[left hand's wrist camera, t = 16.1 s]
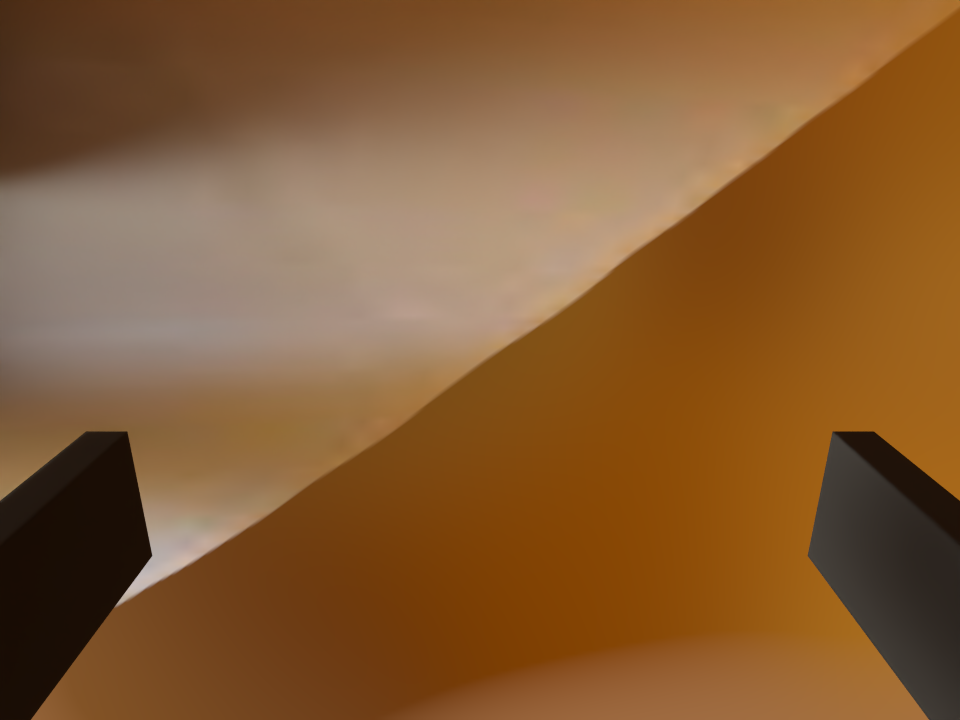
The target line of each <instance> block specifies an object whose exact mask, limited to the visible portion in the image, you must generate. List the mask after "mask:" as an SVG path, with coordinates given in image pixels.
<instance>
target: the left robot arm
mask: <svg viewBox="0 0 960 720" xmlns="http://www.w3.org/2000/svg"><path fill="white" fill-rule="evenodd" d="M151 557H152V552H151V547H150V542H149V537H148V532H147V527H146V522H145V517H144V512H143V507H142V502H141V497H140V492H139V487H138V482H137V477H136V472H135V467H134V462H133V457H132V452H131V448H130V443H129V438H128V433H127V432H85V433H84V434H83V435H81V436H80V437H79V438H78V439H76V440H75V441H74V442H73V443H71V444H70V445H69V446H68V447H66V448H65V449H64V450H63V451H61V452H60V453H59V454H58V455H57V456H55V457H54V458H53V459H52V460H50V461H49V462H48V463H47V464H45V465H44V466H43V467H42V468H40V469H39V470H38V471H37V472H35V473H34V474H33V475H32V476H31V477H29V478H28V479H27V480H26V481H24V482H23V483H22V484H21V485H19V486H18V487H17V488H16V489H14V490H13V491H12V492H11V493H9V494H8V495H7V496H6V497H5V498H3V499H2V500H1V501H0V720H31V719H32V717H33V716H34V715H35V713H36V712H37V711H38V709H39V708H40V706H41V705H42V704H43V702H44V701H45V700H46V698H47V697H48V696H49V694H50V693H51V692H52V690H53V689H54V688H55V686H56V685H57V684H58V682H59V681H60V680H61V678H62V677H63V676H64V674H65V673H66V671H67V670H68V669H69V667H70V666H71V665H72V663H73V662H74V661H75V659H76V658H77V657H78V655H79V654H80V653H81V651H82V650H83V649H84V647H85V646H86V644H87V643H88V642H89V640H90V639H91V638H92V636H93V635H94V634H95V632H96V631H97V630H98V628H99V627H100V626H101V624H102V623H103V622H104V620H105V619H106V617H107V616H108V615H109V613H110V612H111V611H112V609H113V608H114V607H115V605H116V604H117V603H118V601H119V600H120V599H121V597H122V596H123V595H124V593H125V592H126V591H127V589H128V588H129V586H130V585H131V584H132V582H133V581H134V580H135V578H136V577H137V576H138V574H139V573H140V572H141V570H142V569H143V568H144V566H145V565H146V564H147V562H148V561H149V559H150V558H151ZM808 557H809V558H810V559H811V561H812V562H813V563H814V565H815V566H816V568H817V569H818V570H819V572H820V573H821V574H822V576H823V577H824V578H825V580H826V581H827V582H828V584H829V585H830V586H831V588H832V589H833V590H834V592H835V593H836V595H837V596H838V597H839V599H840V600H841V601H842V603H843V604H844V605H845V607H846V608H847V609H848V611H849V612H850V613H851V615H852V616H853V617H854V619H855V620H856V622H857V623H858V624H859V625H860V627H861V628H862V630H863V631H864V632H865V633H866V635H867V636H868V638H869V639H870V640H871V642H872V643H873V644H874V646H875V647H876V648H877V650H878V651H879V653H880V654H881V655H882V656H883V658H884V659H885V661H886V662H887V663H888V665H889V666H890V667H891V669H892V670H893V671H894V673H895V674H896V676H897V677H898V678H899V680H900V681H901V682H902V684H903V685H904V686H905V688H906V689H907V690H908V692H909V693H910V694H911V696H912V697H913V698H914V700H915V701H916V702H917V704H918V705H919V707H920V708H921V709H922V711H923V712H924V713H925V715H926V716H927V717H928V719H929V720H960V501H959V500H958V499H957V498H955V497H954V496H953V495H952V494H951V493H949V492H948V491H947V490H946V489H944V488H943V487H942V486H941V485H939V484H938V483H937V482H936V481H934V480H933V479H932V478H931V477H929V476H928V475H927V474H926V473H925V472H923V471H922V470H921V469H920V468H918V467H917V466H916V465H915V464H913V463H912V462H911V461H910V460H908V459H907V458H906V457H905V456H903V455H902V454H901V453H900V452H899V451H897V450H896V449H895V448H894V447H892V446H891V445H890V444H889V443H887V442H886V441H885V440H884V439H882V438H881V437H880V436H879V435H877V434H876V433H875V432H833V433H832V438H831V443H830V448H829V453H828V457H827V462H826V467H825V473H824V477H823V482H822V488H821V492H820V498H819V502H818V507H817V512H816V517H815V522H814V527H813V532H812V537H811V542H810V547H809V552H808Z"/></svg>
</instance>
